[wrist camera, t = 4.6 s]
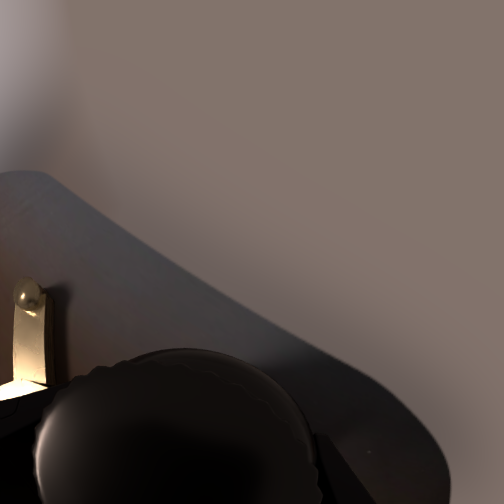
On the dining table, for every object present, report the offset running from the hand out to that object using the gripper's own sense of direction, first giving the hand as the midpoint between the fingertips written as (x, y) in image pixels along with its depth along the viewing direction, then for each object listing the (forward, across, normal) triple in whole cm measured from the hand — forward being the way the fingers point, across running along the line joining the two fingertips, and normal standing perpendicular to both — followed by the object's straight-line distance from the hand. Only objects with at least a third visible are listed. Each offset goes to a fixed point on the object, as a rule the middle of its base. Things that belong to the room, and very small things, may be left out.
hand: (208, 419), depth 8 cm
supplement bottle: (+4, 0, +6) cm, 7 cm away
